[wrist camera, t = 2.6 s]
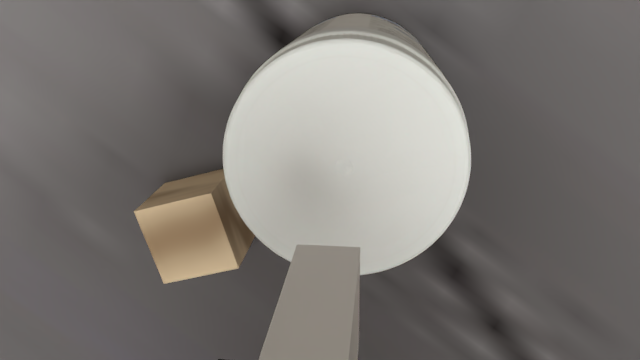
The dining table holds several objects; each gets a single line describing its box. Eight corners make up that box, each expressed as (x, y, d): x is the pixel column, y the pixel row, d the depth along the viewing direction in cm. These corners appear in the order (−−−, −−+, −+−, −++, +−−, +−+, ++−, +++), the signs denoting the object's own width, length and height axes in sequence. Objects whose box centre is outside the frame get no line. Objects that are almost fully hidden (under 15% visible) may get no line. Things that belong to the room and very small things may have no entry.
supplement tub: (293, 172, 36) (237, 290, 23) (268, 23, 33) (185, 55, 20) (444, 157, 35) (482, 273, 21) (432, -1, 32) (467, 15, 18)
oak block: (256, 232, 38) (238, 268, 34) (190, 247, 39) (164, 283, 35) (233, 165, 37) (211, 193, 32) (165, 182, 38) (133, 211, 33)
